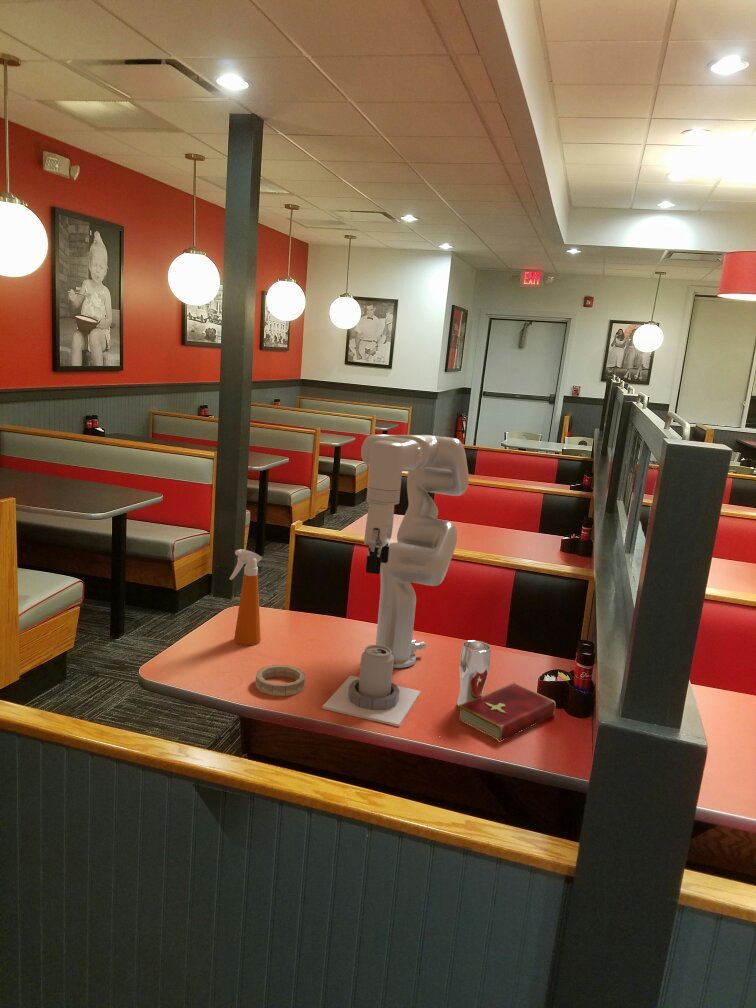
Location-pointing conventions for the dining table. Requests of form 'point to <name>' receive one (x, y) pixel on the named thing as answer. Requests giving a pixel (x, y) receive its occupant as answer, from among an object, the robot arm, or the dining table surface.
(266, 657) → the dining table surface
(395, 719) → the holder
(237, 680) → the dining table surface
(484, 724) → the hardcover book
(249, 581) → the spray bottle
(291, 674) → the stand ring
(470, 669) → the silver tumbler
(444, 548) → the robot arm
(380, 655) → the can
